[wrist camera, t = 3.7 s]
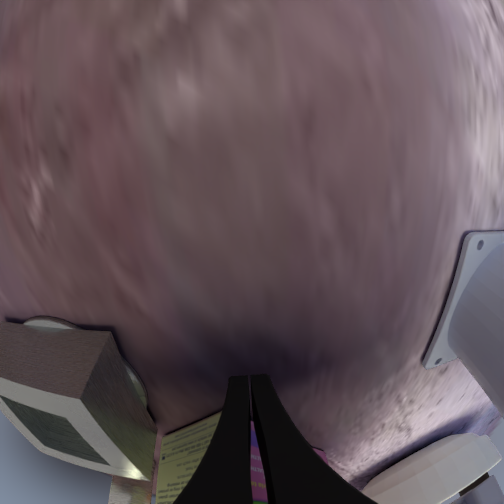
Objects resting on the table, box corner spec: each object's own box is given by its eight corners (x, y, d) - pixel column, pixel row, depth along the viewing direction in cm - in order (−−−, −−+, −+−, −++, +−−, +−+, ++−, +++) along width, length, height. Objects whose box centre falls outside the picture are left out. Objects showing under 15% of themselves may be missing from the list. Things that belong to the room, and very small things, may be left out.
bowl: (469, 434, 24) (488, 469, 16) (360, 495, 27) (372, 534, 19) (482, 388, 17) (519, 443, 9) (314, 484, 20) (328, 548, 12)
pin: (148, 453, 14) (138, 534, 8) (160, 467, 16) (154, 539, 9) (112, 447, 14) (97, 523, 8) (126, 462, 15) (116, 530, 9)
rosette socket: (118, 319, 10) (83, 394, 6) (164, 426, 13) (157, 483, 9) (-2, 311, 9) (-40, 356, 6) (57, 409, 12) (39, 452, 9)
